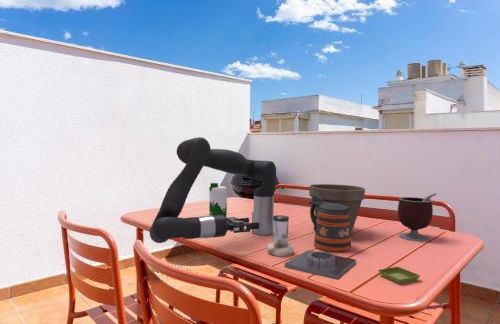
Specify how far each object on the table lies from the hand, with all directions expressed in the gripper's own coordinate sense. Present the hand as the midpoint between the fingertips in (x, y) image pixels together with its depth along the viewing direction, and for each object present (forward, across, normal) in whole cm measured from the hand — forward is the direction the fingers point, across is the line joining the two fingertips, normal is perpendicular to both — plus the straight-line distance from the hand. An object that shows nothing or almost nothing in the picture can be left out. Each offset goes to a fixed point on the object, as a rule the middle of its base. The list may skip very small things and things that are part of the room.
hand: (253, 223), depth 125 cm
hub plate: (+17, -17, +12) cm, 27 cm away
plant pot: (+50, +16, +11) cm, 54 cm away
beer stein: (+34, 0, +12) cm, 36 cm away
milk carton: (+9, +62, +12) cm, 64 cm away
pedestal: (+12, 0, +12) cm, 17 cm away
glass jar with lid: (+12, 0, +10) cm, 15 cm away
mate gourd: (+77, -6, +11) cm, 78 cm away
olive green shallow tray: (+32, -37, +12) cm, 50 cm away
